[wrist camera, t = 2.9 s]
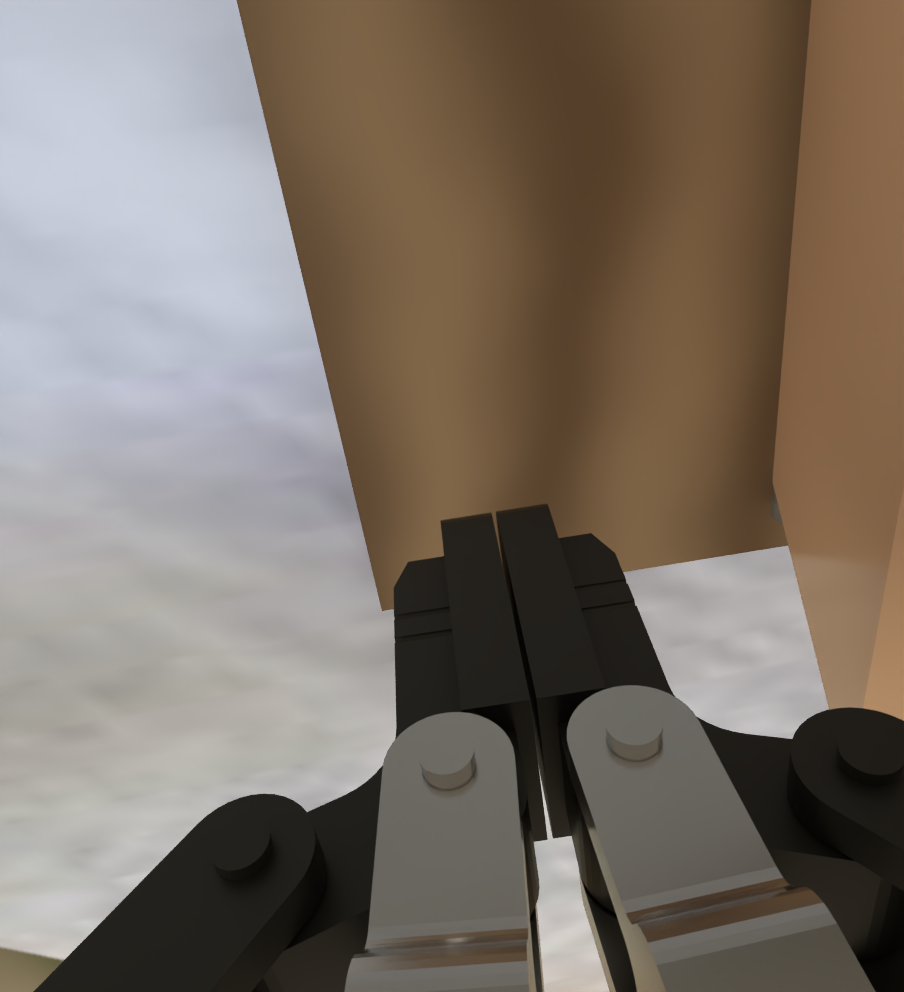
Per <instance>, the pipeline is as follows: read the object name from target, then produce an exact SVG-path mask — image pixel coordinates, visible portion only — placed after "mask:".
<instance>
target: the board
mask: <svg viewBox="0 0 904 992" xmlns="http://www.w3.org/2000/svg"><path fill="white" fill-rule="evenodd" d="M237 4H238V8H239V12H240V16H241V20H242V25H243V29H244V33H245V37H246V41H247V46H248V50H249V54H250V58H251V62H252V67H253V71H254V75H255V79H256V83H257V88H258V92H259V96H260V100H261V104H262V109H263V113H264V117H265V121H266V125H267V130H268V134H269V138H270V142H271V146H272V151H273V155H274V159H275V163H276V167H277V172H278V176H279V180H280V184H281V188H282V193H283V197H284V201H285V205H286V209H287V214H288V218H289V222H290V226H291V230H292V235H293V239H294V243H295V247H296V251H297V256H298V260H299V264H300V268H301V272H302V277H303V281H304V285H305V289H306V293H307V298H308V302H309V306H310V310H311V314H312V319H313V323H314V327H315V331H316V335H317V340H318V344H319V348H320V352H321V356H322V361H323V365H324V369H325V373H326V377H327V382H328V386H329V390H330V394H331V398H332V403H333V407H334V411H335V415H336V419H337V424H338V428H339V432H340V436H341V440H342V445H343V449H344V453H345V457H346V461H347V466H348V470H349V474H350V478H351V482H352V487H353V491H354V495H355V499H356V503H357V508H358V512H359V516H360V520H361V524H362V529H363V533H364V537H365V541H366V545H367V550H368V554H369V558H370V562H371V566H372V571H373V575H374V579H375V583H376V587H377V592H378V596H379V600H380V604H381V608H382V611H384V610H390V609H394V586H395V584H396V582H397V581H398V579H399V577H400V575H401V574H402V572H403V570H404V568H405V566H406V565H407V563H408V562H410V561H416V560H423V559H429V558H435V557H442V556H444V550H443V541H442V532H441V522H440V520H446V519H452V518H458V517H465V516H471V515H478V514H484V513H490V512H491V513H492V517H493V522H494V527H495V531H496V536H497V541H498V546H499V551H500V544H499V537H498V529H497V521H496V511H502V510H508V509H515V508H521V507H528V506H534V505H540V504H548V506H549V509H550V512H551V516H552V519H553V522H554V525H555V528H556V531H557V535H558V538H563V537H569V536H575V535H582V534H588V533H592V534H593V535H594V536H595V537H596V538H598V539H599V540H600V541H601V542H602V543H604V544H605V545H606V546H607V547H608V548H610V549H611V550H612V551H613V552H615V554H616V556H617V559H618V561H619V564H620V566H621V569H622V571H623V572H626V571H632V570H638V569H644V568H651V567H657V566H663V565H669V564H676V563H682V562H688V561H694V560H700V559H707V558H713V557H719V556H725V555H731V554H738V553H744V552H750V551H756V550H762V549H769V548H775V547H781V546H787V545H788V542H787V538H786V534H785V530H784V526H783V522H782V518H781V514H780V510H779V506H778V502H777V498H776V494H775V490H774V486H773V482H772V479H773V467H774V455H775V442H776V430H777V418H778V405H779V393H780V381H781V368H782V356H783V344H784V332H785V319H786V307H787V295H788V282H789V270H790V258H791V246H792V233H793V221H794V209H795V196H796V184H797V172H798V159H799V147H800V135H801V123H802V110H803V98H804V86H805V73H806V61H807V49H808V37H809V24H810V12H811V0H237ZM500 556H501V552H500ZM501 561H502V559H501Z"/></svg>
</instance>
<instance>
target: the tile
mask: <svg viewBox="0 0 904 992" xmlns="http://www.w3.org/2000/svg"><path fill="white" fill-rule="evenodd" d="M772 482H773V486H774V490H775V494H776V498H777V502H778V506H779V510H780V514H781V518H782V522H783V526H784V530H785V534H786V538H787V542H788V546H789V550H790V554H791V558H792V562H793V566H794V570H795V574H796V578H797V582H798V586H799V590H800V594H801V598H802V602H803V606H804V610H805V614H806V618H807V622H808V626H809V630H810V634H811V638H812V642H813V646H814V650H815V654H816V658H817V662H818V667H819V671H820V675H821V679H822V683H823V687H824V691H825V695H826V699H827V703H828V707H829V710H830V709H835V708H847V707H853V708H865V709H870V710H876V711H879V712H883V713H886V714H889V715H892V716H894V717H896V718H899V719H901V720H903V721H904V0H811V12H810V24H809V37H808V49H807V61H806V73H805V86H804V98H803V110H802V123H801V135H800V147H799V159H798V172H797V184H796V196H795V209H794V221H793V233H792V246H791V258H790V270H789V282H788V295H787V307H786V319H785V332H784V344H783V356H782V368H781V381H780V393H779V405H778V418H777V430H776V442H775V455H774V467H773V479H772Z"/></svg>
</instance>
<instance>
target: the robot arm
mask: <svg viewBox="0 0 904 992" xmlns="http://www.w3.org/2000/svg"><path fill="white" fill-rule="evenodd" d="M496 521H497V529H498V537H499V544H500V551H499V546H498V541H497V536H496V531H495V527H494V522H493V517H492V513H491V512H490V513H484V514H478V515H471V516H465V517H458V518H452V519H446V520H440V522H441V532H442V541H443V550H444V556H442V557H435V558H429V559H423V560H416V561H410V562H408V563H407V565H406V566H405V568H404V570H403V572H402V574H401V575H400V577H399V579H398V581H397V582H396V584H395V586H394V617H395V620H394V630H395V676H396V722H397V729H396V738H395V741H394V742H393V743H392V745H391V746H390V748H389V749H388V751H387V754H386V756H385V759H384V763H383V766H382V767H381V768H380V769H379V770H378V771H377V773H376V774H375V775H374V776H373V777H371V778H370V779H369V780H368V781H367V782H366V783H364V784H363V785H361V786H360V787H358V788H357V789H356V790H354V791H352V792H350V793H348V794H346V795H344V796H342V797H340V798H338V799H336V800H333V801H331V802H329V803H327V804H324V805H322V806H320V807H318V808H316V809H313V810H311V811H309V812H306V811H305V810H304V809H303V808H302V806H300V805H299V804H298V803H296V802H295V801H293V800H291V799H289V798H286V797H284V796H279V795H275V794H257V795H250V796H246V797H242V798H239V799H236V800H233V801H231V802H228V803H227V804H225V805H223V806H221V807H219V808H217V809H216V810H214V811H213V812H212V813H210V814H209V815H207V816H206V817H205V818H204V819H203V820H202V821H201V822H199V823H198V824H197V825H196V826H195V827H194V828H193V829H192V830H191V831H190V832H189V833H188V834H187V835H186V836H185V838H184V839H183V840H182V841H181V842H180V843H179V844H178V845H177V846H176V847H175V848H174V849H173V850H172V851H171V852H170V853H169V854H168V855H167V856H166V857H165V858H164V859H163V860H162V861H161V862H160V863H159V864H158V865H157V866H156V867H155V868H154V869H153V870H152V871H151V872H150V873H149V874H148V875H147V876H146V877H145V878H144V879H143V880H142V881H141V882H140V883H139V885H138V886H137V887H136V888H135V889H134V890H133V891H132V892H131V893H130V894H129V895H128V896H127V897H126V898H125V899H124V900H123V901H122V902H121V903H120V904H119V905H118V906H117V907H116V908H115V909H114V910H113V911H112V912H111V913H110V914H109V915H108V916H107V917H106V918H105V919H104V920H103V921H102V922H101V923H100V924H99V925H98V926H97V927H96V928H95V929H94V931H93V932H92V933H91V934H90V935H89V936H88V937H87V938H86V939H85V940H84V941H83V942H82V943H81V944H80V945H79V946H78V947H77V948H76V949H75V950H74V951H73V952H72V953H71V954H70V955H69V956H68V957H67V958H66V959H65V960H64V961H63V962H62V963H61V964H60V965H59V967H57V968H56V969H55V971H53V972H52V973H51V974H50V975H49V977H48V978H47V979H46V980H45V981H44V982H43V983H42V984H41V985H40V986H39V987H38V988H37V989H36V990H35V991H34V992H544V982H543V971H542V959H541V948H540V936H539V925H538V914H537V906H536V903H537V900H538V895H539V878H538V871H537V863H536V856H535V849H534V842H535V841H542V840H547V832H546V824H545V815H544V807H543V799H542V791H541V783H540V775H541V780H542V785H543V790H544V795H545V800H546V805H547V811H548V816H549V821H550V826H551V831H552V836H553V838H559V837H565V836H572V839H573V843H574V848H575V852H576V857H577V861H578V866H579V873H580V884H581V894H582V899H583V904H584V908H585V911H586V914H587V918H588V921H589V924H590V927H591V931H592V934H593V937H594V941H595V944H596V947H597V951H598V954H599V957H600V961H601V964H602V967H603V971H604V974H605V977H606V981H607V984H608V987H609V991H610V992H904V721H903V720H901V719H899V718H896V717H894V716H892V715H889V714H886V713H883V712H879V711H876V710H870V709H865V708H853V707H847V708H835V709H830V710H826V711H823V712H820V713H817V714H815V715H814V716H812V717H810V718H808V719H807V720H806V721H805V722H804V723H802V724H801V725H800V726H799V728H798V729H797V731H796V732H795V734H794V737H793V739H786V738H777V737H768V736H759V735H751V734H743V733H738V732H732V731H729V730H725V729H722V728H719V727H716V726H714V725H712V724H709V723H707V722H705V721H703V720H702V719H700V718H698V717H696V716H695V714H694V713H693V711H692V710H691V709H690V708H689V707H688V706H687V705H686V704H684V703H683V702H682V701H680V700H679V699H678V698H676V697H675V696H674V694H673V693H672V691H671V689H670V687H669V685H668V682H667V680H666V677H665V675H664V673H663V670H662V668H661V665H660V663H659V660H658V658H657V655H656V653H655V650H654V648H653V645H652V643H651V640H650V638H649V635H648V633H647V630H646V628H645V626H644V623H643V621H642V618H641V616H640V613H639V611H638V608H637V606H635V602H634V598H633V596H632V593H631V591H630V588H629V586H628V584H626V579H625V576H624V574H623V571H622V569H621V566H620V564H619V561H618V559H617V556H616V554H615V552H613V551H612V550H611V549H610V548H608V547H607V546H606V545H605V544H604V543H602V542H601V541H600V540H599V539H598V538H596V537H595V536H594V535H593V534H592V533H588V534H582V535H575V536H569V537H563V538H558V535H557V531H556V528H555V525H554V522H553V519H552V516H551V512H550V509H549V506H548V504H540V505H534V506H528V507H521V508H515V509H508V510H502V511H496ZM500 552H501V556H500ZM501 559H502V561H501ZM538 765H539V767H538ZM539 770H540V775H539Z"/></svg>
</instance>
